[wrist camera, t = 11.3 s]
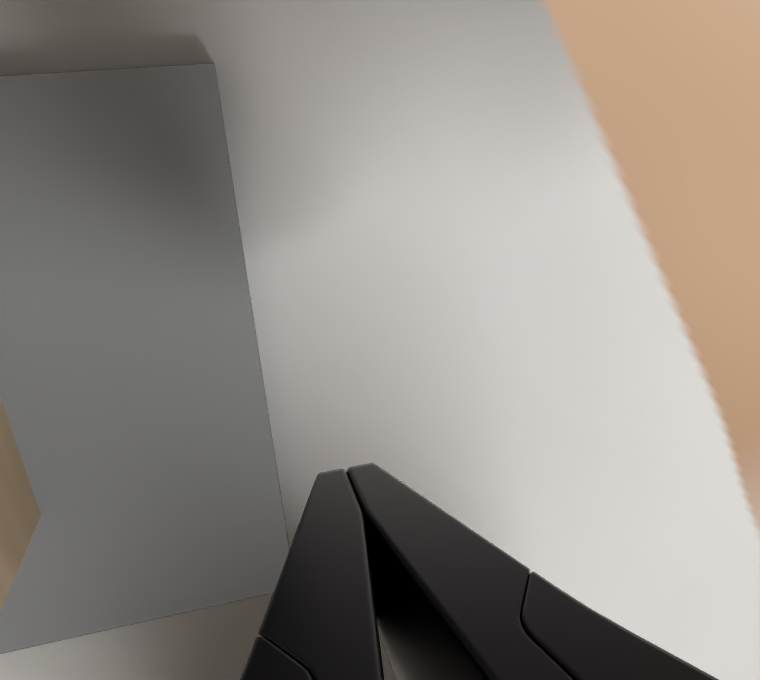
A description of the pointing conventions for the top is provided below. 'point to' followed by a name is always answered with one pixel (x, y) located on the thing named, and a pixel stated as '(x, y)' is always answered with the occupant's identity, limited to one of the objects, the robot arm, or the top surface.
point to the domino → (13, 507)
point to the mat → (130, 355)
